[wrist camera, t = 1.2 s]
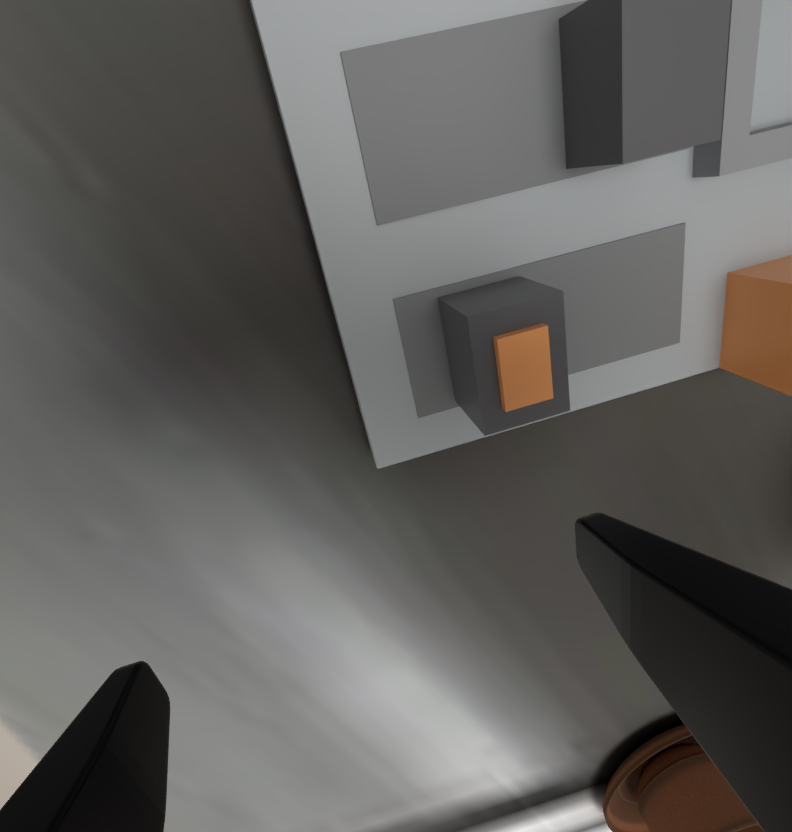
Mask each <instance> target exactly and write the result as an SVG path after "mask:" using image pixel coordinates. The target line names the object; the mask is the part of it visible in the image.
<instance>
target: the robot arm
mask: <svg viewBox="0 0 792 832" xmlns="http://www.w3.org/2000/svg"><path fill="white" fill-rule="evenodd" d="M575 535H576V551H577V559H578V562H579V565H580V567H581V569H582V571H583V573H584V574H585V576H586V578H587V579H588V581H589V583H590V584H591V586H592V588H593V589H594V591H595V593H596V594H597V596H598V598H599V600H600V601H601V603H602V605H603V606H604V608H605V610H606V611H607V613H608V615H609V616H610V618H611V620H612V621H613V623H614V625H615V626H616V628H617V630H618V631H619V633H620V635H621V636H622V638H623V640H624V641H625V643H626V644H627V646H628V648H629V649H630V651H631V652H632V654H633V655H634V656H635V658H636V659H637V661H638V662H639V664H640V665H641V666H642V668H643V669H644V670H645V672H646V673H647V674H648V676H649V677H650V678H651V680H652V681H653V682H654V684H655V685H656V686H657V688H658V689H659V691H660V692H661V693H662V695H663V696H664V697H665V699H666V700H667V701H668V703H669V704H670V705H671V707H672V708H673V709H674V711H675V712H676V713H677V715H678V716H679V717H680V719H681V720H682V722H683V723H684V724H685V726H686V727H687V728H688V730H689V731H690V732H691V734H692V735H693V736H694V738H695V739H696V740H697V742H698V743H699V744H700V746H701V747H702V748H703V750H704V751H705V753H706V754H707V755H708V757H709V758H710V759H711V761H712V762H713V763H714V765H715V766H716V767H717V769H718V770H719V771H720V773H721V774H722V775H723V777H724V778H725V779H726V781H727V782H728V784H729V785H730V786H731V788H732V789H733V790H734V792H735V793H736V794H737V796H738V797H739V798H740V800H741V801H742V802H743V804H744V805H745V806H746V808H747V809H748V810H749V812H750V813H751V815H752V816H753V817H754V819H755V820H756V821H757V823H758V824H759V825H760V827H761V828H762V829H763V831H764V832H792V589H789V588H787V587H784V586H782V585H779V584H777V583H774V582H772V581H770V580H767V579H765V578H762V577H760V576H757V575H755V574H752V573H750V572H747V571H745V570H742V569H740V568H737V567H735V566H732V565H730V564H727V563H725V562H722V561H720V560H717V559H715V558H712V557H710V556H707V555H705V554H702V553H700V552H697V551H695V550H692V549H690V548H687V547H685V546H682V545H680V544H677V543H675V542H673V541H670V540H668V539H665V538H663V537H660V536H658V535H655V534H653V533H650V532H648V531H645V530H643V529H640V528H638V527H635V526H633V525H630V524H628V523H625V522H623V521H620V520H618V519H615V518H613V517H610V516H608V515H605V514H602V513H594V514H591V515H588V516H584V517H581V518H579V519H578V520H577V521H576V523H575ZM169 725H170V701H169V697H168V694H167V692H166V690H165V689H164V687H163V685H162V684H161V682H160V681H159V679H158V678H157V676H156V675H155V673H154V672H153V670H152V669H151V667H150V666H149V665H148V663H146V662H144V661H139V662H136V663H132V664H129V665H126V666H123V667H120V668H118V669H116V670H115V671H114V672H113V673H112V674H111V675H110V676H109V677H108V679H107V680H106V681H105V682H104V683H103V685H102V686H101V687H100V688H99V690H98V691H97V692H96V693H95V694H94V696H93V697H92V698H91V699H90V701H89V702H88V703H87V704H86V705H85V707H84V708H83V709H82V710H81V712H80V713H79V714H78V715H77V717H76V718H75V719H74V720H73V721H72V723H71V724H70V725H69V726H68V728H67V729H66V730H65V731H64V732H63V734H62V735H61V736H60V737H59V739H58V740H57V741H56V742H55V743H54V745H53V746H52V747H51V748H50V750H49V751H48V752H47V753H46V755H45V756H44V757H43V758H42V759H41V761H40V762H39V763H38V764H37V766H36V767H35V768H34V769H33V770H32V772H31V773H30V774H29V775H28V777H27V778H26V779H25V780H24V782H23V783H22V784H21V785H20V787H19V788H18V789H17V790H16V791H15V793H14V794H13V795H12V796H11V797H10V799H9V800H8V801H7V802H6V804H5V805H4V806H3V807H2V808H1V810H0V832H163V831H164V822H165V812H166V797H167V773H168V749H169Z"/></svg>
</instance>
